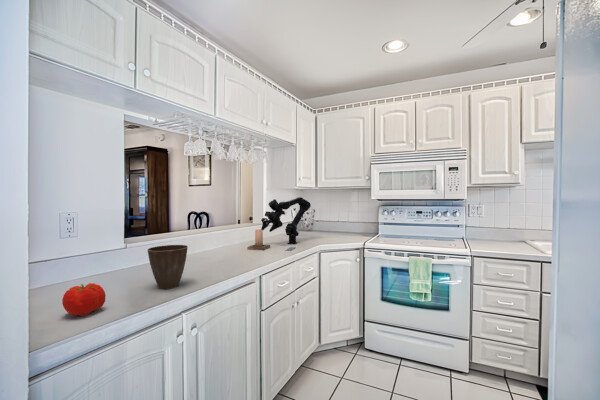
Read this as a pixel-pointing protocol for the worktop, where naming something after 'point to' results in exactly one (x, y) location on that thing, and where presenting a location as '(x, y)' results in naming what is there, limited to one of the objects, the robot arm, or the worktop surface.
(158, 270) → the plant pot
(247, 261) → the worktop surface
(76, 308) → the tomato
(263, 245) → the walnut puzzle board
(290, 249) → the slate-blue mat
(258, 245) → the terracotta peg
